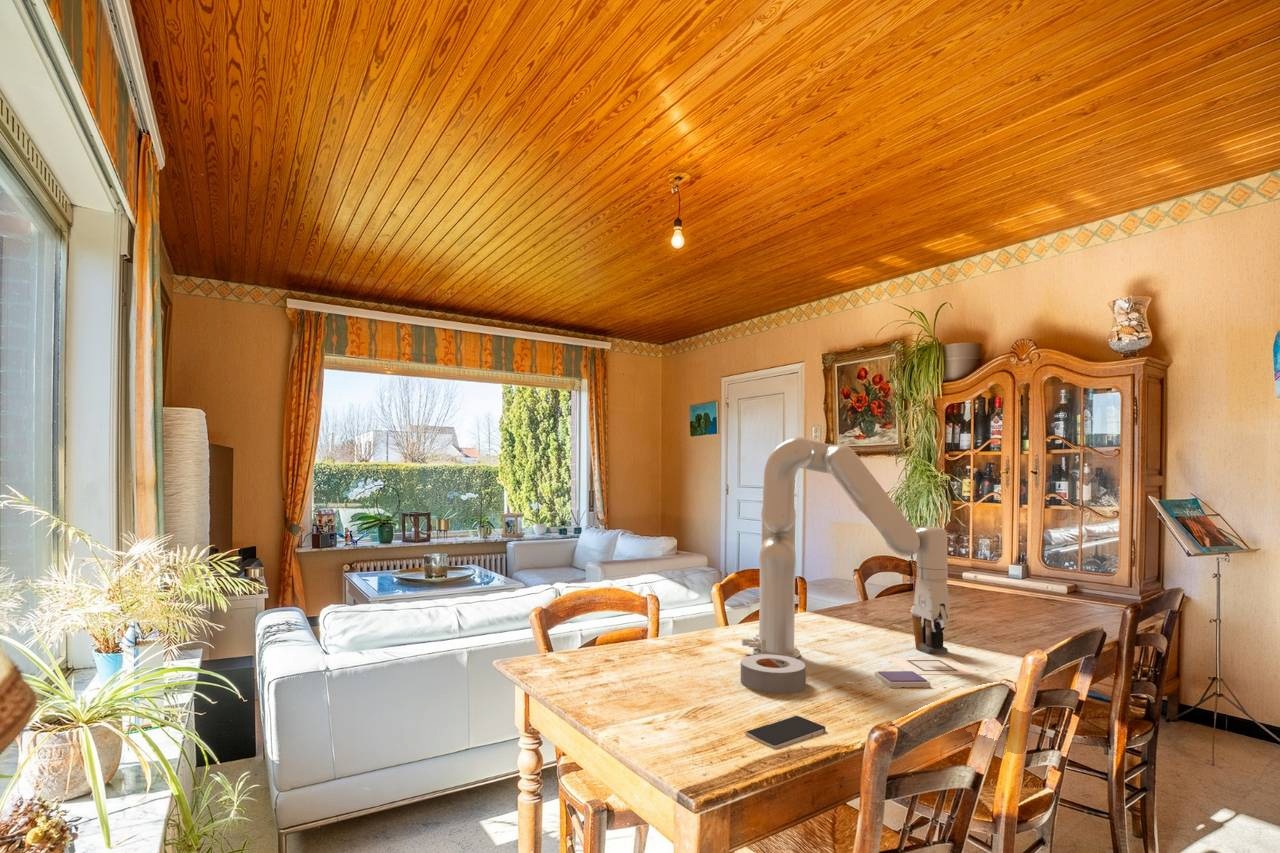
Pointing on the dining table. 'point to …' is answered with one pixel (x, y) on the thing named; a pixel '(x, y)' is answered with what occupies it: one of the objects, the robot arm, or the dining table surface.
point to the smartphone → (786, 732)
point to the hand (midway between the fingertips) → (932, 644)
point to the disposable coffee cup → (917, 628)
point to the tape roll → (773, 674)
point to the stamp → (927, 647)
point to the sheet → (932, 666)
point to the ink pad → (901, 679)
